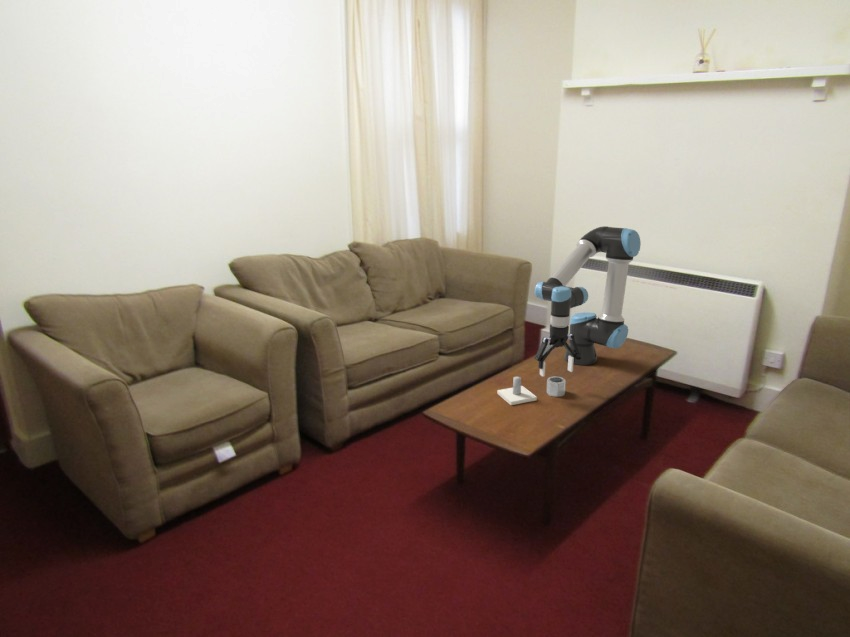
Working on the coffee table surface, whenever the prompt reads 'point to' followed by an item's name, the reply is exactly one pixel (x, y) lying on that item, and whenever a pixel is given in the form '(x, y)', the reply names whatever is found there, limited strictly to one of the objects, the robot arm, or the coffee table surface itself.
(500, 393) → the post
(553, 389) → the tube
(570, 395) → the coffee table surface
